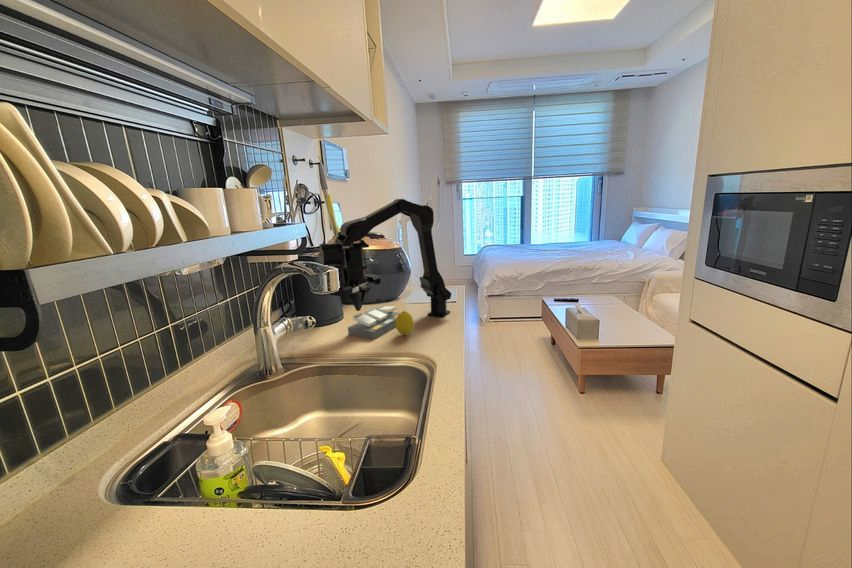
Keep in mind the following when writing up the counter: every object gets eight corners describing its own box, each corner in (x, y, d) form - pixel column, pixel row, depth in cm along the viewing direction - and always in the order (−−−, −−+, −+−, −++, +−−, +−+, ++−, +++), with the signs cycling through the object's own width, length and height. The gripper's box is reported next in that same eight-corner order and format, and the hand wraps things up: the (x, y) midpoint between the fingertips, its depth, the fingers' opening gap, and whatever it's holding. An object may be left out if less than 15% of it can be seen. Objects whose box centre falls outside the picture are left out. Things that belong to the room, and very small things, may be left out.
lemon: (393, 337, 112) (392, 313, 111) (400, 331, 118) (399, 307, 116) (410, 339, 111) (409, 314, 109) (416, 333, 116) (415, 309, 114)
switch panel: (383, 317, 132) (382, 307, 131) (406, 320, 128) (405, 310, 127) (348, 334, 116) (347, 323, 115) (373, 339, 111) (372, 328, 111)
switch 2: (382, 309, 130) (381, 305, 130) (396, 309, 127) (396, 305, 126) (375, 312, 126) (374, 309, 126) (390, 312, 123) (389, 309, 123)
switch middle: (371, 310, 124) (372, 307, 124) (386, 317, 122) (387, 314, 121) (364, 314, 121) (364, 310, 121) (379, 320, 118) (380, 317, 118)
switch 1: (360, 315, 119) (361, 312, 119) (376, 322, 117) (376, 319, 116) (352, 319, 116) (353, 316, 116) (368, 326, 113) (368, 323, 113)
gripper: (353, 256, 125) (357, 300, 129) (313, 266, 109) (318, 315, 113) (380, 258, 120) (382, 303, 123) (341, 269, 104) (346, 320, 107)
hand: (358, 310), depth 117 cm, fingers closed
